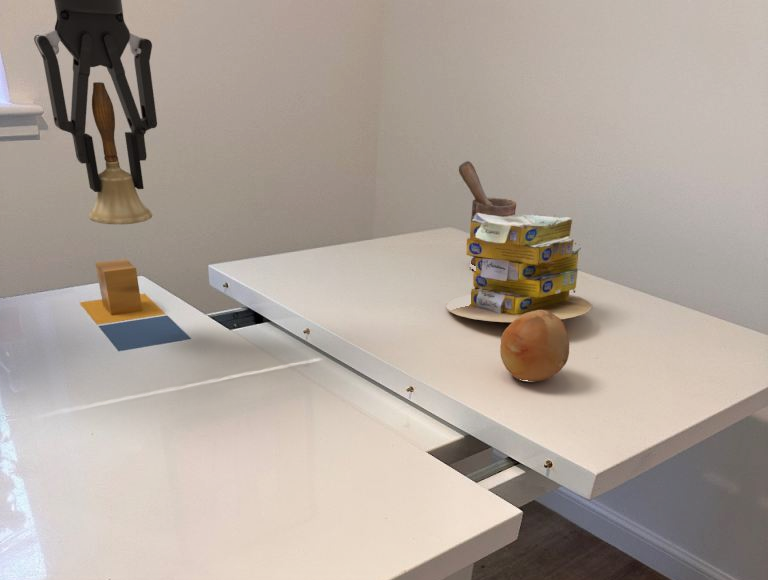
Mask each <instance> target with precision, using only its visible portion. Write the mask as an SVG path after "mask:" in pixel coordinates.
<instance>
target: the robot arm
mask: <svg viewBox="0 0 768 580" xmlns="http://www.w3.org/2000/svg"><path fill="white" fill-rule="evenodd" d="M53 1H54V6H55V7H54V8H55V13H56V21H55V25H54V30H52V31H49V32H47V33H45V34H42V35H41V34H36V35H34V38H33V41H34V44H35V46H36V47H37V50H38V52H39V54H40V56H41V57H42V61H43V68H44V72H45V78H46V84H47V89H48V94H49V101H50V105H51V111H52V116H53V123H54V125H55V127H57V128H58V129H59V130H61V131H63V132H67V133H70V134H71V136H72V140H73V145H74V150H75V156H76V160H77V161H78V162H79V164H81V165H82V164H83V165H84V164H85V167H86V174H87V179H88V185H89V189H91V190H92V191H93V192H95V193H98V192H101V188H100V182H99V176H98V175H99V171H98V163H97V159H96V152H95V145H94V139H93V136H92V135H90V134H88V133H86V124H87V109H88V108H87V107H88V95H89V94H88V93H89V80H90V79H89V78H90V74H91V68H96V67H100V66H102V67H104V68H106V71H107V72H108V74H109V75H110V78H111V81H112V82H113V86H114V89H115V91H116V94H117V97H118V99H119V102H120V105H121V108H122V111H123V113H124V116H125V118H126V122H127V124H128V127H129V129H130V131H125V132H124V136H125V145H126V151H127V157H128V166H129V174H131V176H132V178H133V182H134V186H135V189H136V190H144V189H145V188H144V181H143V173H142V165H141V161H142V162H143V161H147V158H148V157H147V148H146V140H145V135H146V132H147V131H149V130H151V129H155V128H157V127H158V119H157V111H156V103H155V95H154V87H153V80H152V71H151V63H150V61H151V54H152V49H153V43H152V41H151V40H150V39H148V38H146V37H145V38H144V37H140V36H138V35H136V34H135V35H134V34H132V33H130V30H129V28H128V26H127V24H126V22H125V18H124V9H123V2H122V0H53ZM60 43H62V45H63V46H64V48H65V49H66V50H67V51H68V52H69V54H70V55H71V57H72V59H73V60H72V91H71V93H72V94H71V106H70V107H71V108H70V109H71V110H70V120H69V116H68V111H67V105H66V98H65V94H64V93H65V92H64V88H63V83H62V76H61V71H60V70H61V69H60V64H59V60H58V58H57V55H58V54H59V53H60V47H59V44H60ZM127 45H129V48H130V53H131V55H132V56H133V57H134V59H133V60H134V70H135V78H136V84H137V91H138V98H139V105H140V111H141V112H140V111H139V109H138V106H137V104H136V101H135V99H134V96H133V93H132V90H131V87H130V85H129V82H128V79H127V76H126V70H125V67H124V65H123V61H122V60H121V58H122V56H123V54H124V52H125V50H126V48H127ZM139 112H140V113H139ZM140 114H141V115H140Z"/></svg>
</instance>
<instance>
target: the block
mask: <svg viewBox="0 0 768 580" xmlns="http://www.w3.org/2000/svg"><path fill="white" fill-rule="evenodd" d="M95 269H96V274H97V281H98V285H99V290H100V291H99V292H100V297H101V299H102V303H103V306H104V307H105V308H106V309H107V310H108V312H109V313H110V314H111V315H116V314H123V313H130V312H136V311H142V305H141V298H140V294H141V292H140V286H139V279H138V272H137V267H136V266H135V265H134V264H133V263H131V262H130V261H129V260H128V259H127V258H125V259H115V260H108V261H99V262H95Z"/></svg>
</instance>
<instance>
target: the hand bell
mask: <svg viewBox="0 0 768 580" xmlns="http://www.w3.org/2000/svg"><path fill="white" fill-rule="evenodd" d="M91 110H92V115H93V116H92V117H93V120H94V123H95V125H96V128H97V131H98V133H99V135H100V138H101V143H102V149H103V155H104V157H103V158H104V161H105V169H104V170H103V171H102V172H100V173H98V176H99V182H100V188H101V192H97V196H96V202H95V204H94V207H93V209H92V210H91V211H90V213H89V215H88V218H89V220H90V221H92V222H94V223H98V224H104V225H132V224H138V223H143V222H144V223H145V222H147V221H149V220H151V219H152V218H153V213H152V211H151V210H150V208H148V207H146V205H145V204H144V203H143V201H142V200H141V198H140V196H139V194H138V192H137V188H136V187H135V186H134V182H133V178H132V176H131V173H130V172H127V171H125V170H124V169H122V168H121V166H120V162H119V157H118V152H117V146H116V142H115V141H116V140H115V131H116V118H115V117H116V115H115V109H114V105H113V102H112V99H111V97H110V94H109V92H108V90H107V88H106V86H105V83H104V82H100V81H99V82H97V81H96V82H95V81H94V82H92V95H91Z"/></svg>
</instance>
